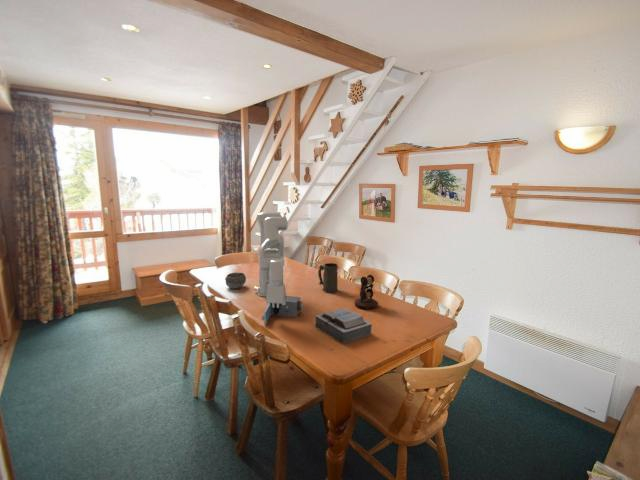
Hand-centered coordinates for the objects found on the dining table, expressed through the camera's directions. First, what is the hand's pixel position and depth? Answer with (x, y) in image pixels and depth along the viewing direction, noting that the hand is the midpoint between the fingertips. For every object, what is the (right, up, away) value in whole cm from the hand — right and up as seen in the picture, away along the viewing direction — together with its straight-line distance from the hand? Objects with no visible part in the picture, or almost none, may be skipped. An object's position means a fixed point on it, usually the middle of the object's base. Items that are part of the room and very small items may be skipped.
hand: (276, 313), depth 175 cm
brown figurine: (+54, -1, +27) cm, 60 cm away
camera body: (+4, -3, +12) cm, 13 cm away
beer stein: (+29, +4, +55) cm, 63 cm away
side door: (-6, -3, +2) cm, 7 cm away
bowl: (-37, +6, +56) cm, 67 cm away
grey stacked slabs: (+36, -7, -8) cm, 38 cm away
